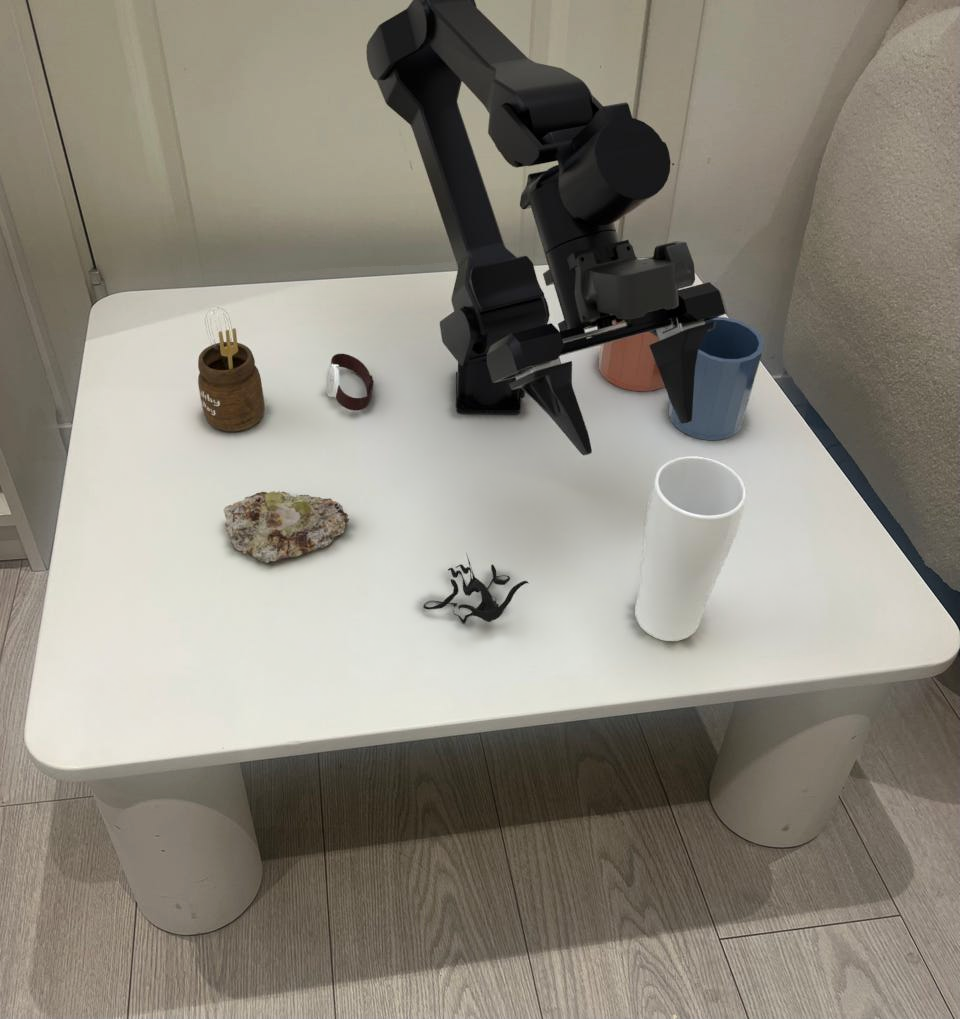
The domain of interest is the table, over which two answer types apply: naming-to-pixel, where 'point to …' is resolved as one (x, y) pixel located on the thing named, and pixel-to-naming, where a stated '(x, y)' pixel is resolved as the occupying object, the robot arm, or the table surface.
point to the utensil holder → (229, 383)
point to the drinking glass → (686, 543)
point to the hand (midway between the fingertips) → (638, 438)
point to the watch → (333, 381)
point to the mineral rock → (283, 524)
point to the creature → (487, 606)
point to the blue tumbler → (722, 380)
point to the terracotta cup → (631, 363)
